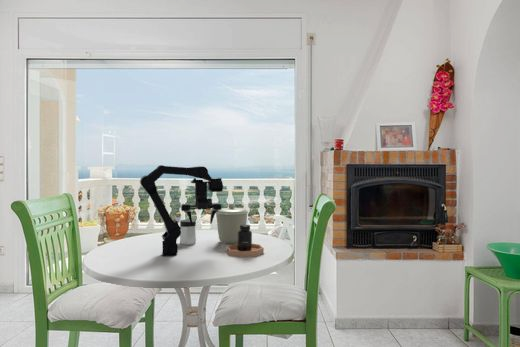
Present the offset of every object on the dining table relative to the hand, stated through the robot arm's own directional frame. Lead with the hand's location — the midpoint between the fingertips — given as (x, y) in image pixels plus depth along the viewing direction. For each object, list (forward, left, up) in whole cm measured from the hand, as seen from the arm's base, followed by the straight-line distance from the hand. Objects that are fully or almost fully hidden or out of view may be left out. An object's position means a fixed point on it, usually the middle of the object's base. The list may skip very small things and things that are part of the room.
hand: (201, 224), depth 176 cm
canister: (+18, +17, -13) cm, 28 cm away
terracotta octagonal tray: (+20, -7, -13) cm, 25 cm away
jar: (-5, +20, -13) cm, 24 cm away
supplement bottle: (+20, -7, -12) cm, 24 cm away
